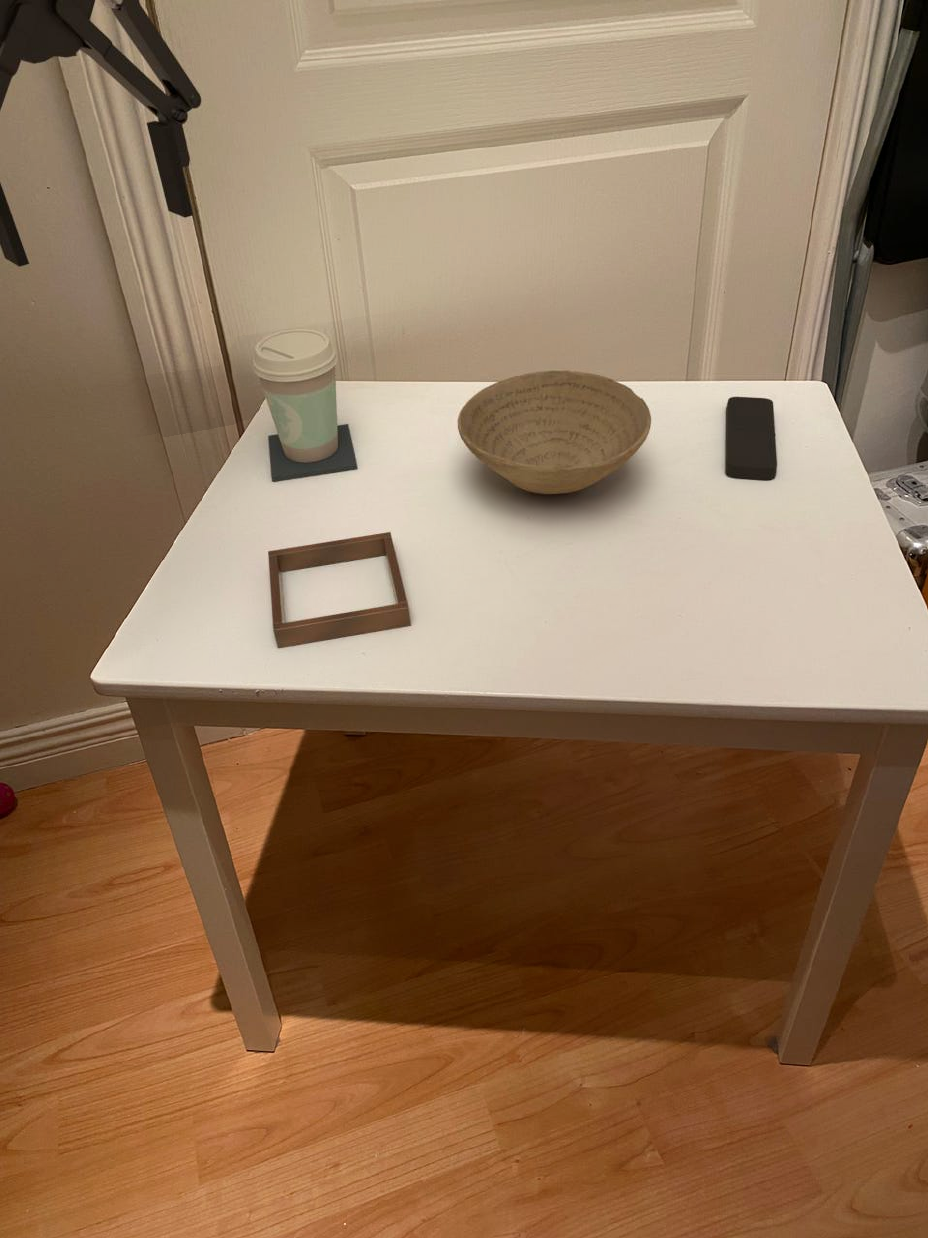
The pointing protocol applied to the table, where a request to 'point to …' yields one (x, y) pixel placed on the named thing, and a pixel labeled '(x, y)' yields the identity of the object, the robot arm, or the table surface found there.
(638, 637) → the table surface
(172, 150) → the robot arm
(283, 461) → the felt mat
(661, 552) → the table surface
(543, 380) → the bowl
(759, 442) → the remote control
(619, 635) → the table surface
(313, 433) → the coffee cup
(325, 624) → the wooden square frame
